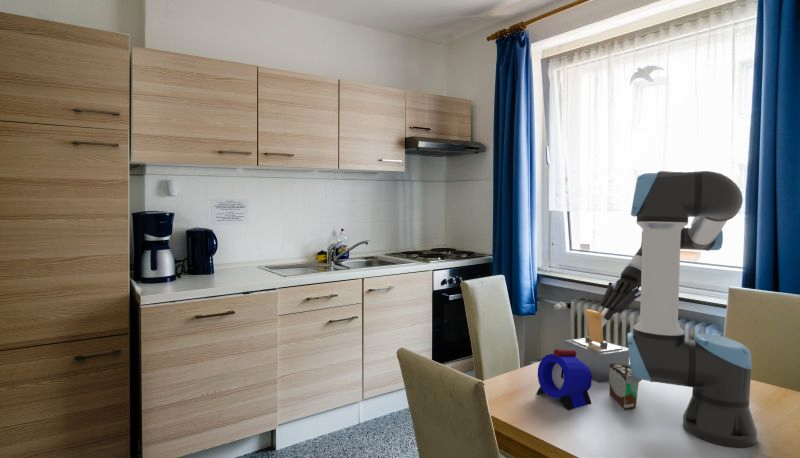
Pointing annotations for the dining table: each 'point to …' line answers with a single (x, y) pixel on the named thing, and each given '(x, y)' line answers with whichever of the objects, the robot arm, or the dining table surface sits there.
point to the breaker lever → (594, 325)
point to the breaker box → (597, 356)
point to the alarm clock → (565, 378)
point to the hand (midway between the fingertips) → (597, 325)
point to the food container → (623, 385)
